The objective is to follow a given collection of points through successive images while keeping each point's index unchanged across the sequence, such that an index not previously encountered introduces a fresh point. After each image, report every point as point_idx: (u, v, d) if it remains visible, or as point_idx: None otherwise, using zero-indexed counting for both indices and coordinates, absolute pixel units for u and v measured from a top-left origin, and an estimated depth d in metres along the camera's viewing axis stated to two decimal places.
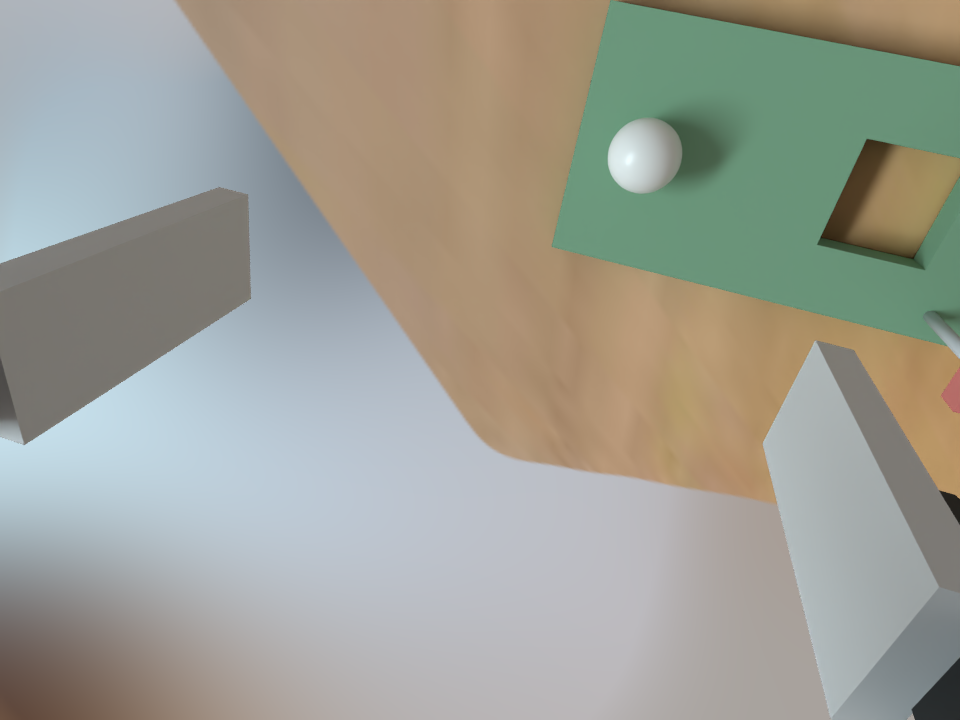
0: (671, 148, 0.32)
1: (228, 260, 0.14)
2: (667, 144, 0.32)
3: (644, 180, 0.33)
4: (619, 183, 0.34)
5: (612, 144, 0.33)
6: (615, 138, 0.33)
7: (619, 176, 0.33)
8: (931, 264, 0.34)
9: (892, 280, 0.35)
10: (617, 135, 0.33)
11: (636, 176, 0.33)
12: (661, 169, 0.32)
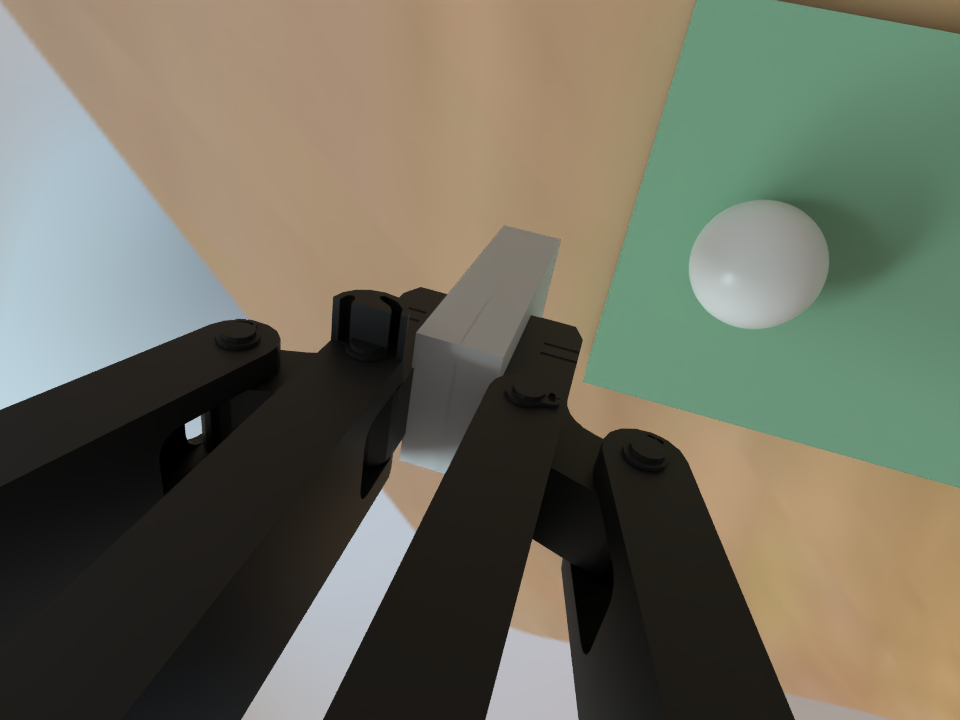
0: (816, 262, 0.17)
1: None
2: (810, 256, 0.17)
3: (762, 316, 0.18)
4: (710, 312, 0.19)
5: (701, 247, 0.19)
6: (707, 237, 0.19)
7: (714, 304, 0.19)
8: None
9: None
10: (711, 232, 0.18)
11: (748, 309, 0.18)
12: (796, 299, 0.18)
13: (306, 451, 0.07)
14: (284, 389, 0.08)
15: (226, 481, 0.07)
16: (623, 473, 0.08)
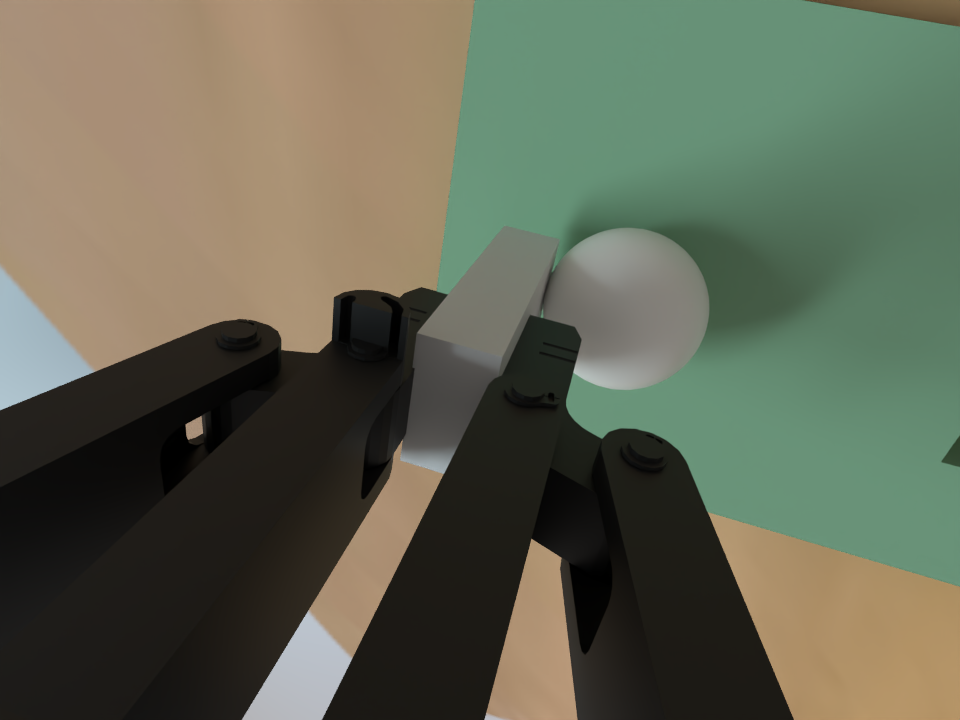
0: (707, 301, 0.14)
1: None
2: (703, 297, 0.14)
3: (662, 378, 0.14)
4: (593, 382, 0.15)
5: (574, 313, 0.14)
6: (579, 299, 0.14)
7: (605, 378, 0.14)
8: None
9: None
10: (582, 291, 0.14)
11: (650, 377, 0.14)
12: (695, 349, 0.14)
13: (307, 451, 0.07)
14: (285, 389, 0.08)
15: (226, 481, 0.07)
16: (622, 473, 0.08)
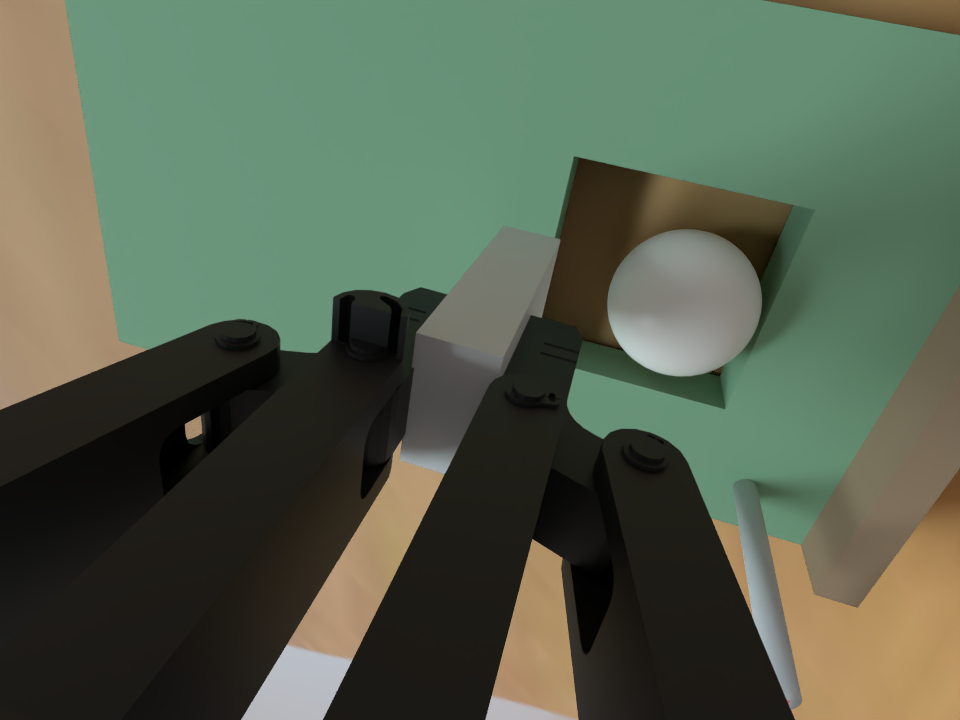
0: (760, 290, 0.16)
1: None
2: (759, 287, 0.16)
3: (726, 362, 0.16)
4: (662, 372, 0.17)
5: (652, 311, 0.15)
6: (656, 298, 0.15)
7: (679, 368, 0.16)
8: (734, 399, 0.18)
9: (668, 423, 0.19)
10: (659, 291, 0.15)
11: (718, 363, 0.16)
12: None
13: (306, 451, 0.07)
14: (284, 389, 0.08)
15: (226, 481, 0.07)
16: (623, 473, 0.08)
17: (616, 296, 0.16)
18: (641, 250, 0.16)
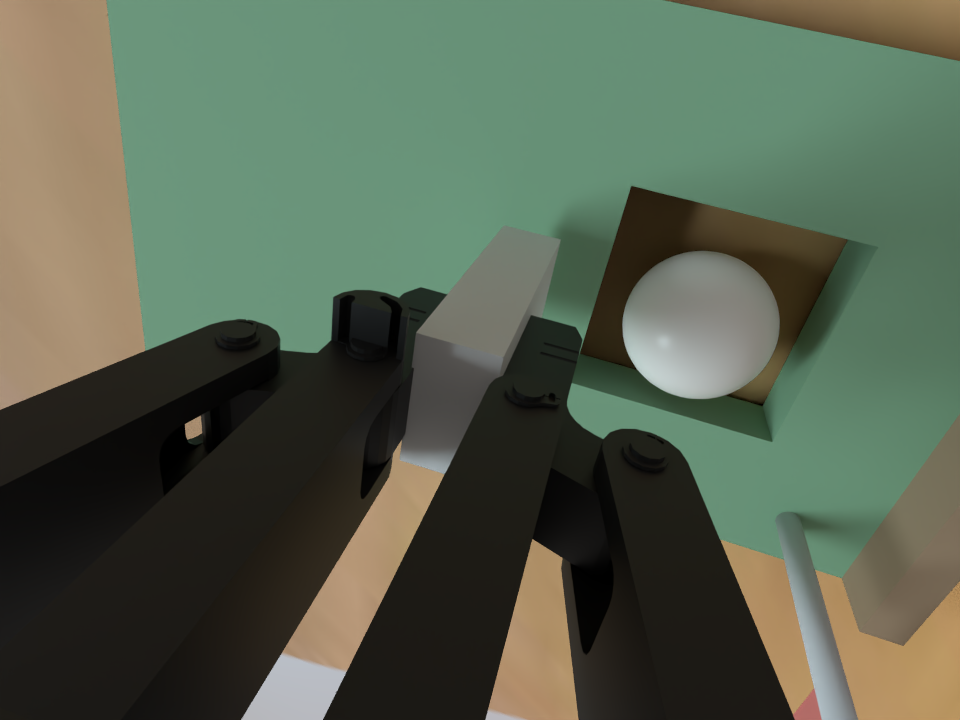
0: (773, 324, 0.15)
1: None
2: (767, 319, 0.15)
3: (720, 390, 0.16)
4: (657, 385, 0.17)
5: (642, 316, 0.16)
6: (647, 304, 0.16)
7: (664, 381, 0.16)
8: (782, 432, 0.17)
9: (713, 454, 0.18)
10: (651, 298, 0.16)
11: (705, 385, 0.15)
12: (756, 368, 0.15)
13: (306, 451, 0.07)
14: (284, 389, 0.08)
15: (226, 481, 0.07)
16: (623, 473, 0.08)
17: (627, 302, 0.17)
18: None
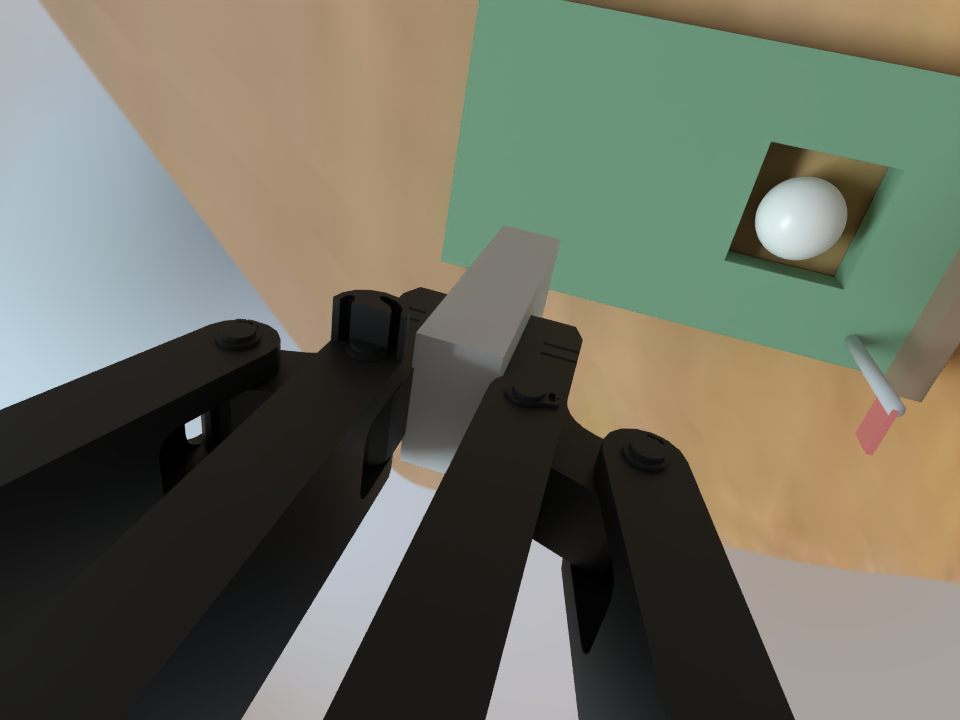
0: (843, 212, 0.28)
1: None
2: (840, 208, 0.28)
3: (813, 249, 0.29)
4: (775, 251, 0.30)
5: (769, 209, 0.29)
6: (773, 202, 0.29)
7: (781, 245, 0.29)
8: (850, 283, 0.31)
9: (808, 300, 0.32)
10: (775, 199, 0.29)
11: (805, 245, 0.29)
12: (833, 236, 0.28)
13: (306, 451, 0.07)
14: (284, 389, 0.08)
15: (226, 481, 0.07)
16: (623, 473, 0.08)
17: (759, 206, 0.30)
18: None
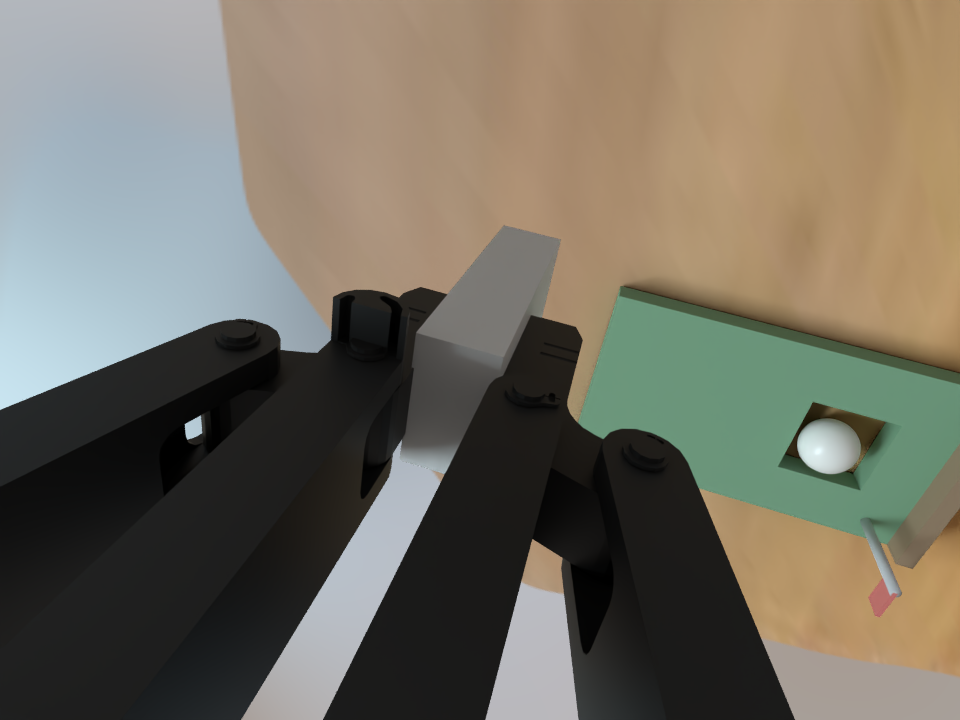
0: (857, 450, 0.42)
1: None
2: (855, 448, 0.42)
3: (835, 471, 0.43)
4: (810, 466, 0.44)
5: (806, 441, 0.44)
6: (809, 437, 0.43)
7: (814, 465, 0.44)
8: (864, 486, 0.45)
9: (835, 494, 0.46)
10: (811, 435, 0.43)
11: (830, 469, 0.43)
12: (850, 465, 0.43)
13: (306, 452, 0.07)
14: (284, 389, 0.08)
15: (226, 481, 0.07)
16: (623, 473, 0.08)
17: (800, 433, 0.45)
18: (814, 421, 0.44)
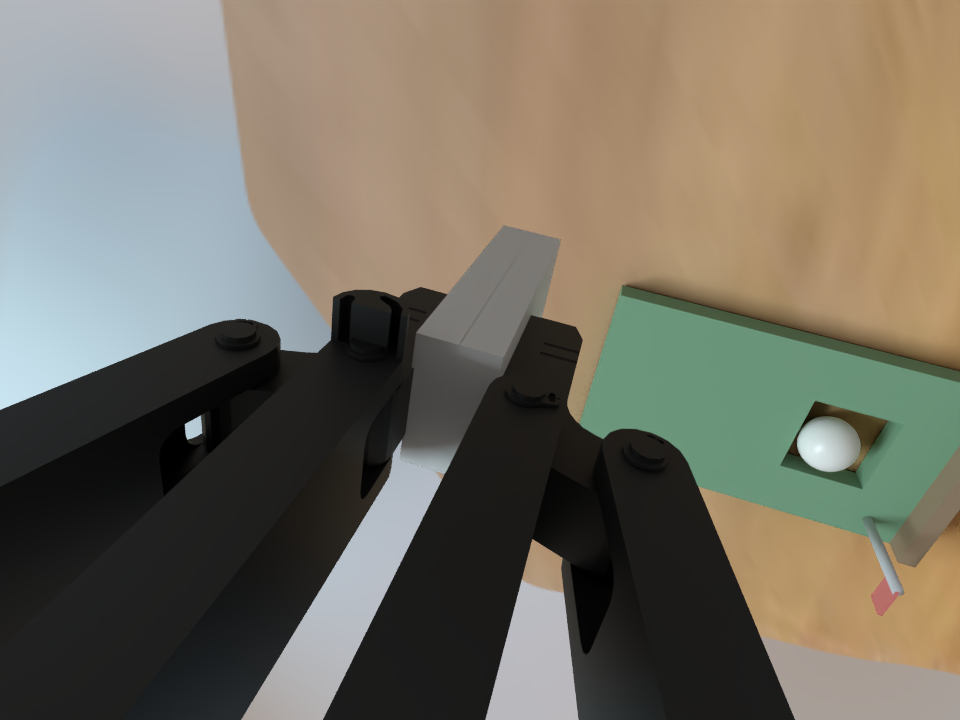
0: (856, 448, 0.42)
1: None
2: (853, 446, 0.42)
3: (833, 469, 0.43)
4: None
5: (805, 438, 0.44)
6: (808, 434, 0.44)
7: (811, 462, 0.44)
8: (866, 485, 0.45)
9: (837, 493, 0.46)
10: (809, 432, 0.44)
11: (827, 466, 0.43)
12: (848, 463, 0.43)
13: (306, 451, 0.07)
14: (284, 389, 0.08)
15: (226, 481, 0.07)
16: (623, 473, 0.08)
17: (800, 430, 0.45)
18: (814, 418, 0.44)
